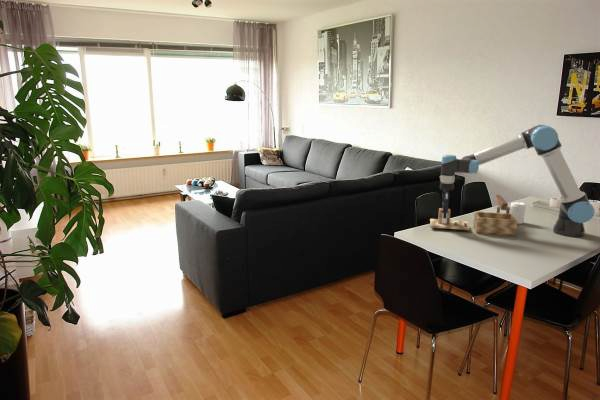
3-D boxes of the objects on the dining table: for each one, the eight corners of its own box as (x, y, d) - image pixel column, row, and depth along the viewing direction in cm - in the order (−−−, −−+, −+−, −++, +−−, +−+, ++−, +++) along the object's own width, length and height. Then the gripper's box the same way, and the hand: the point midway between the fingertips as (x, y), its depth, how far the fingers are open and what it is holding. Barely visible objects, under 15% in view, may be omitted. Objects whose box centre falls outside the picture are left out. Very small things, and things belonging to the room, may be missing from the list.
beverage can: (509, 223, 263) (511, 204, 261) (508, 220, 271) (510, 201, 268) (524, 225, 261) (526, 205, 258) (522, 221, 268) (525, 202, 265)
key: (500, 201, 274) (500, 194, 273) (507, 210, 252) (507, 203, 251) (494, 200, 275) (495, 194, 274) (501, 209, 253) (502, 203, 252)
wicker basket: (508, 226, 258) (510, 207, 255) (515, 236, 239) (517, 215, 236) (471, 223, 263) (473, 204, 260) (476, 233, 244) (478, 213, 241)
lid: (466, 223, 258) (468, 208, 256) (469, 230, 244) (470, 214, 242) (430, 220, 263) (431, 205, 261) (430, 227, 249) (431, 211, 247)
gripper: (439, 179, 258) (436, 217, 263) (440, 184, 241) (437, 225, 247) (452, 180, 256) (449, 218, 261) (455, 185, 239) (451, 226, 245)
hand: (443, 222), depth 254 cm, fingers closed on lid, 4 cm apart
